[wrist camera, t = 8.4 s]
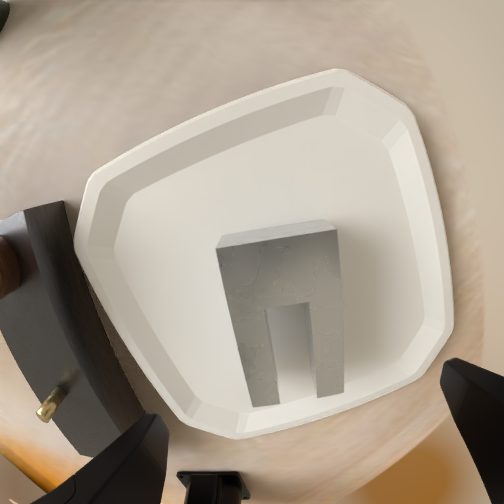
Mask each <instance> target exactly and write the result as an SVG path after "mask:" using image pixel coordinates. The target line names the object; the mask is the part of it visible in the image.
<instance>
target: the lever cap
mask: <svg viewBox="0 0 504 504" xmlns="http://www.w3.org/2000/svg"><path fill="white" fill-rule="evenodd" d="M215 250H216V254H217V259H218V264H219V268H220V273H221V278H222V282H223V287H224V291H225V296H226V300H227V304H228V309H229V313H230V318H231V322H232V326H233V330H234V335H235V339H236V343H237V347H238V351H239V355H240V359H241V363H242V367H243V371H244V375H245V379H246V383H247V387H248V391H249V395H250V399H251V403H252V407H262V406H271V405H279V404H280V395H279V383H278V374H277V368H276V362H275V356H274V350H273V345H272V339H271V333H270V327H269V321H268V315H267V310H266V309H268V308H275V307H281V306H287V305H293V304H299V303H304V309H305V318H306V328H307V338H308V348H309V359H310V370H311V375H312V379H313V383H314V387H315V392H316V396H317V398H322V397H327V396H332V395H337V394H341V393H344V324H343V301H342V284H341V269H340V257H339V245H338V235H337V229H336V228H335V227H334V226H332V225H331V224H330V223H328V222H327V221H326V220H324V219H320V220H313V221H306V222H300V223H294V224H287V225H281V226H275V227H269V228H262V229H256V230H250V231H244V232H238V233H232V234H226V235H222V237H221V239H220V241H219V242H218V244H217V246H216V248H215Z"/></svg>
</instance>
